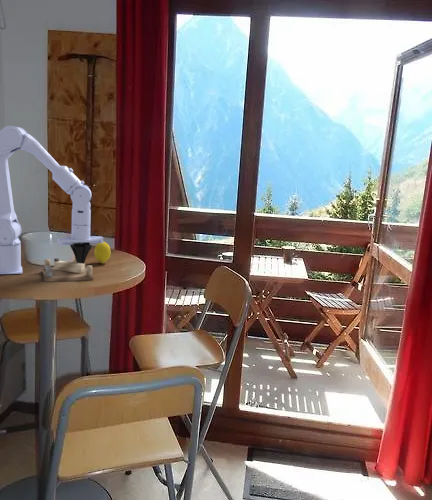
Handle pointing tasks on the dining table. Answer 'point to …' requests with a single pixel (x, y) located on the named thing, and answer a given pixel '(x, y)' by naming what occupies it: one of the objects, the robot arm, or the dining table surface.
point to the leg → (68, 266)
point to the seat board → (65, 273)
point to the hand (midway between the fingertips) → (80, 266)
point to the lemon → (102, 252)
